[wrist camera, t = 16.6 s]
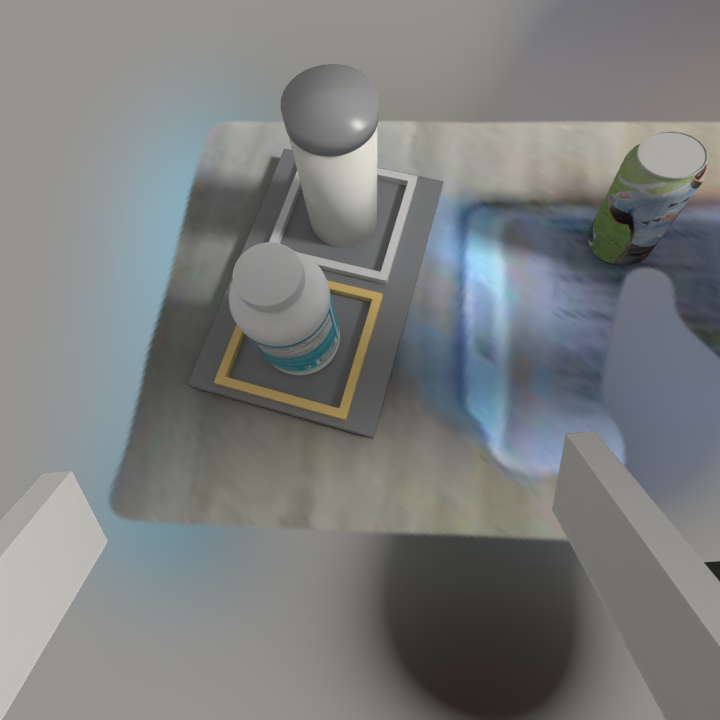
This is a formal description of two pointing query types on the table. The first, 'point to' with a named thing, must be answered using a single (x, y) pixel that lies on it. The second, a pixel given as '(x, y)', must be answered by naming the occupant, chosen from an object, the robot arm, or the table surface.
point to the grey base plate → (350, 299)
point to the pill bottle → (285, 308)
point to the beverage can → (647, 196)
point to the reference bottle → (335, 150)
